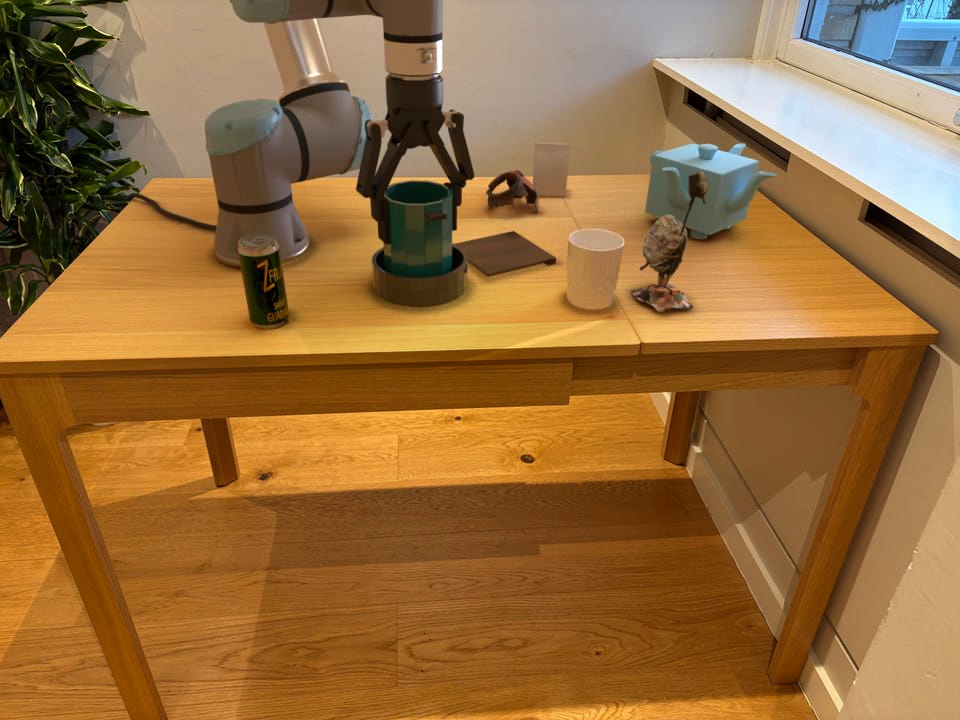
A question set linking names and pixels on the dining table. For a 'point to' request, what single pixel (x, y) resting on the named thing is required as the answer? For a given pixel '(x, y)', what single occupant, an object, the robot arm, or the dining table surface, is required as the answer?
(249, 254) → the green soda can
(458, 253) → the pan
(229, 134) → the robot arm
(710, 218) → the teakettle
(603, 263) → the white cup
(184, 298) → the dining table surface
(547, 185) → the white upright block
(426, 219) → the pot
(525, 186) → the brown arched frame
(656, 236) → the brown figurine
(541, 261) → the trivet
